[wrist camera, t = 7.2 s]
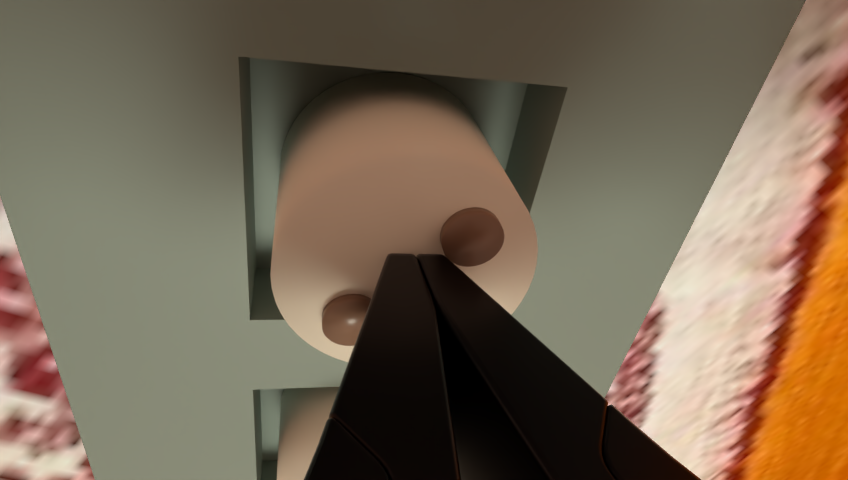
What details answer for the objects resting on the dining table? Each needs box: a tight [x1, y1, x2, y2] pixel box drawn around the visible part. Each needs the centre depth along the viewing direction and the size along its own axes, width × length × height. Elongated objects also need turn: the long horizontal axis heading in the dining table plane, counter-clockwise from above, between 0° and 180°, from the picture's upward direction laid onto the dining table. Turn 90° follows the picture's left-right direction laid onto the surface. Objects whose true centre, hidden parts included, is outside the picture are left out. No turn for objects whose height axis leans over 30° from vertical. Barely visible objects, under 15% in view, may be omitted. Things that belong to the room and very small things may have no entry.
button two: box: [270, 73, 538, 362], centre depth 9 cm, size 4×4×3 cm
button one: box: [277, 387, 339, 480], centre depth 13 cm, size 4×4×3 cm
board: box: [0, 0, 806, 480], centre depth 10 cm, size 12×20×2 cm, turn 172°
